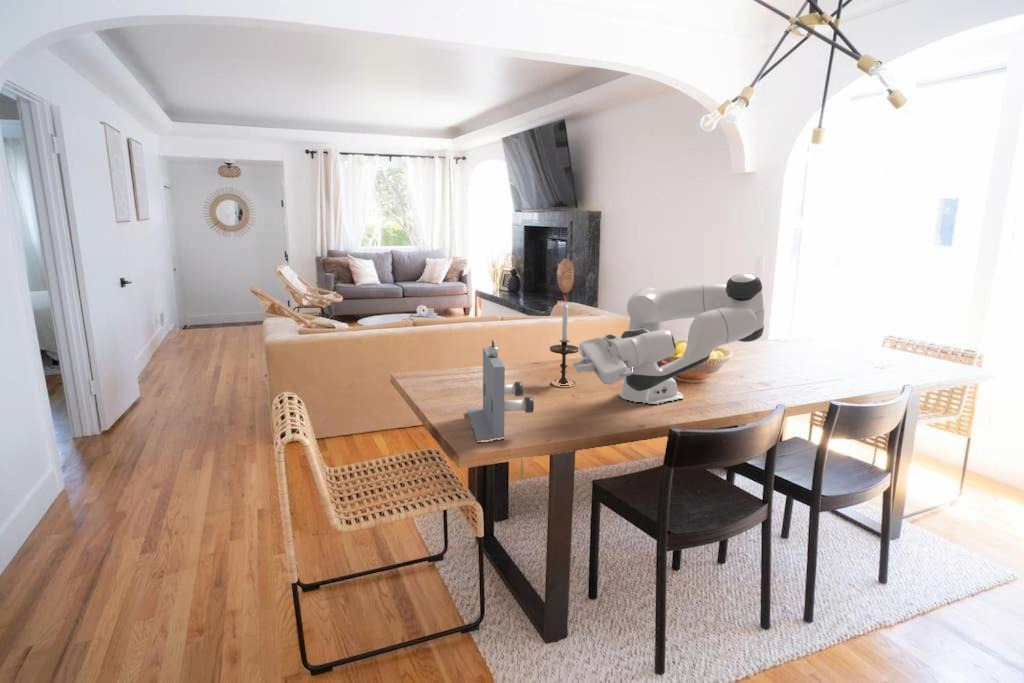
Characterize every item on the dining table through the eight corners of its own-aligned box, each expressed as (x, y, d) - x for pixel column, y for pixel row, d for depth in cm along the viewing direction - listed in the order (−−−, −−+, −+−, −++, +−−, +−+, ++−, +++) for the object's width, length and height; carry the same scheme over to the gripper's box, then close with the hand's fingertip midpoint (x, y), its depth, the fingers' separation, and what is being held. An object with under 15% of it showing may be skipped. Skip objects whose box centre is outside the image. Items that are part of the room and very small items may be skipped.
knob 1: (520, 393, 191) (520, 379, 190) (522, 397, 186) (523, 383, 185) (489, 394, 189) (489, 381, 188) (491, 399, 185) (491, 385, 184)
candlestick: (546, 387, 221) (548, 295, 213) (551, 379, 231) (553, 291, 224) (575, 389, 218) (578, 296, 211) (579, 381, 229) (582, 292, 221)
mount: (491, 411, 193) (491, 346, 189) (504, 441, 168) (505, 367, 164) (467, 412, 192) (466, 347, 187) (477, 443, 167) (476, 368, 162)
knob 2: (530, 409, 176) (530, 394, 175) (533, 414, 171) (533, 399, 170) (497, 411, 174) (497, 396, 173) (499, 416, 169) (500, 401, 168)
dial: (496, 355, 178) (496, 339, 176) (498, 357, 175) (498, 341, 174) (487, 355, 177) (487, 339, 176) (489, 358, 174) (489, 341, 173)
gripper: (637, 382, 157) (589, 395, 156) (608, 349, 175) (564, 361, 173) (636, 362, 155) (586, 375, 153) (606, 331, 173) (562, 342, 171)
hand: (574, 367), depth 163 cm, fingers closed
